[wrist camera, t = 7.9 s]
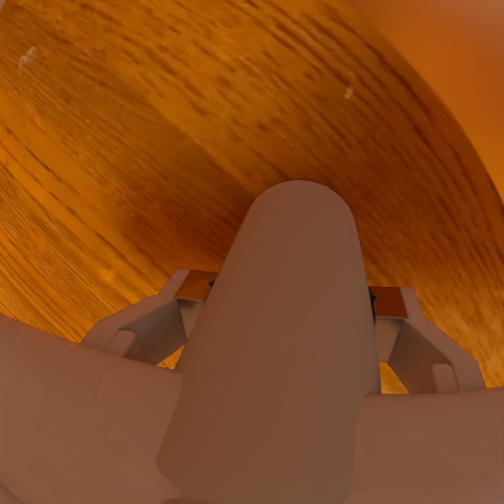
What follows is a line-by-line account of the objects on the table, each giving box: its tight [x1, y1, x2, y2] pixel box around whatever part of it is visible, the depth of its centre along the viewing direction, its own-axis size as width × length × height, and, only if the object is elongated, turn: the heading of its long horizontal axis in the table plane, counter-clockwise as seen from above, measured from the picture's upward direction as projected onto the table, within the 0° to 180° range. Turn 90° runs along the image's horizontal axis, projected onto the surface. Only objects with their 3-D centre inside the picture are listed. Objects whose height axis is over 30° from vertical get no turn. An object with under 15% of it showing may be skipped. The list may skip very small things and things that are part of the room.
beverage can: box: [156, 180, 382, 504], centre depth 9 cm, size 5×5×12 cm
